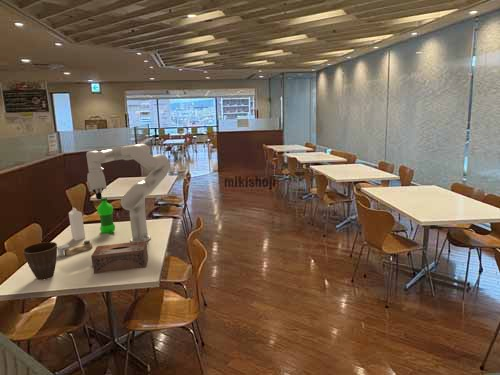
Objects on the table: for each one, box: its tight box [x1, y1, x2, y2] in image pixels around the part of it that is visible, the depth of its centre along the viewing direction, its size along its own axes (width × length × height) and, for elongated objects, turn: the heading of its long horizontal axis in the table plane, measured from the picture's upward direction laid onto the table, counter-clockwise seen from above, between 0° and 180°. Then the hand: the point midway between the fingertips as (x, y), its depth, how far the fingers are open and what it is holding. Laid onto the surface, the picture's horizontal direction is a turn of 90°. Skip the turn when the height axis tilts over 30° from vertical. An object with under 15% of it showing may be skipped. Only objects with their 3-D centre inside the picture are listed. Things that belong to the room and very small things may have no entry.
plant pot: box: [22, 241, 58, 281], centre depth 186 cm, size 15×15×16 cm
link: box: [63, 240, 93, 257], centre depth 217 cm, size 16×5×4 cm, turn 142°
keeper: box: [57, 243, 71, 258], centre depth 212 cm, size 5×6×6 cm
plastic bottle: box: [96, 196, 116, 235], centre depth 250 cm, size 10×10×25 cm
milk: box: [68, 207, 86, 241], centre depth 239 cm, size 6×6×22 cm
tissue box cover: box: [90, 241, 149, 275], centre depth 196 cm, size 26×14×10 cm, turn 101°
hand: (99, 199), depth 235 cm, fingers closed
